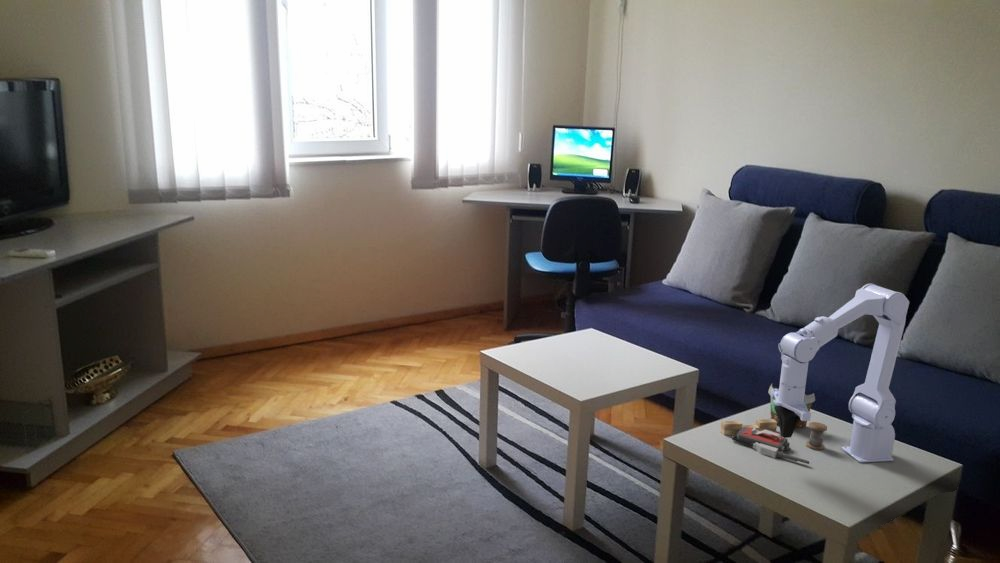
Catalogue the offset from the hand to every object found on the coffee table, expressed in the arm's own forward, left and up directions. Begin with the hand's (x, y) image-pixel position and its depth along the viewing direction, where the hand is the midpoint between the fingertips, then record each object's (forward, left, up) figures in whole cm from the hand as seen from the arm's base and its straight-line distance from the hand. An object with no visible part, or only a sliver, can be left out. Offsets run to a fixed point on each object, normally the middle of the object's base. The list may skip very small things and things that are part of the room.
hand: (786, 436), depth 185 cm
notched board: (-1, -20, -8) cm, 22 cm away
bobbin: (-15, -10, -8) cm, 20 cm away
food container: (-14, -23, -9) cm, 28 cm away
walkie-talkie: (-3, -9, -9) cm, 13 cm away
